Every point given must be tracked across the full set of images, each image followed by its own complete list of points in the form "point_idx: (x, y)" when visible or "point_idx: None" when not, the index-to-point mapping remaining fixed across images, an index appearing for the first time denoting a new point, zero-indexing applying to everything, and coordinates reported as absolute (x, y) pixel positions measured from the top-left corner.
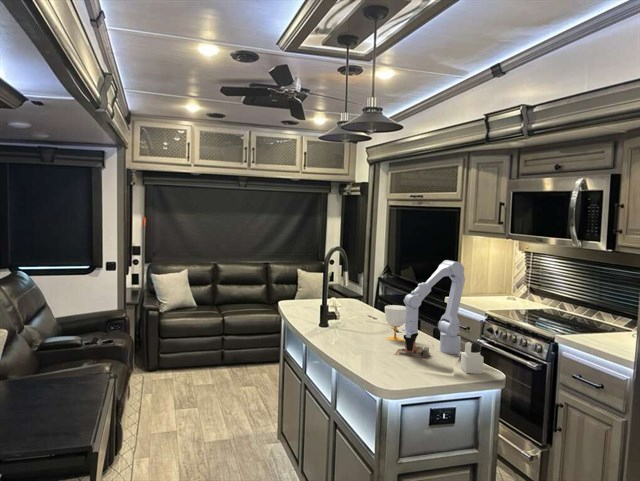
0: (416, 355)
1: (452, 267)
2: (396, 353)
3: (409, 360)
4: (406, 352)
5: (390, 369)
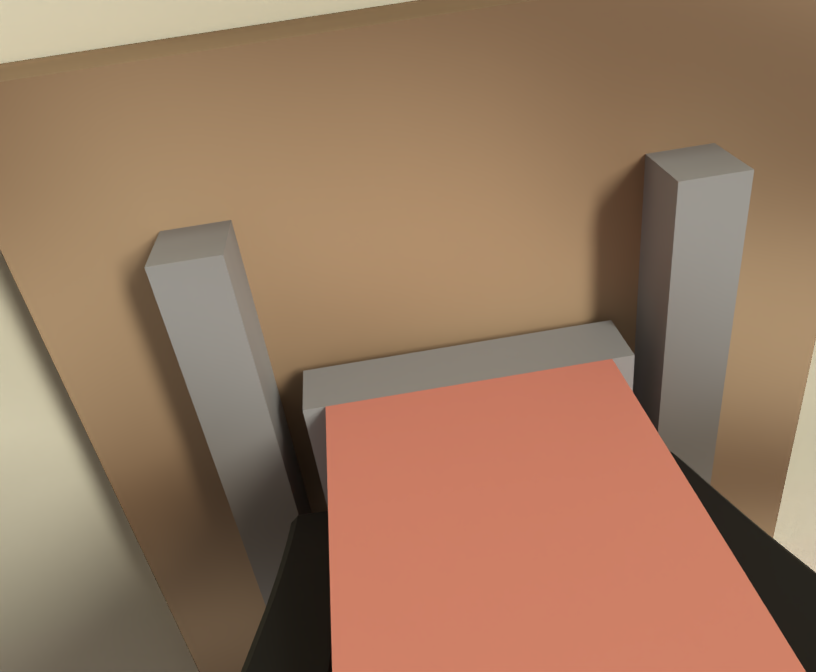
0: None
1: None
2: (173, 113)
3: (76, 505)
4: (277, 459)
5: None
